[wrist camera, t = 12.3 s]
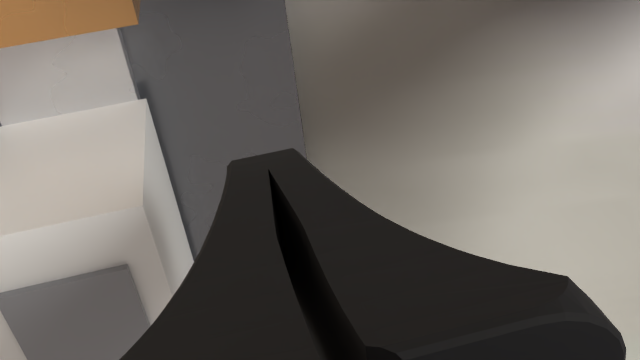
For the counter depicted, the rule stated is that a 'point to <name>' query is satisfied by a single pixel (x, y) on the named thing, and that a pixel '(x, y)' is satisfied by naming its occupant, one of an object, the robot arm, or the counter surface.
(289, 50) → the rail plate
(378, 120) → the counter surface
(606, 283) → the counter surface
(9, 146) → the block
